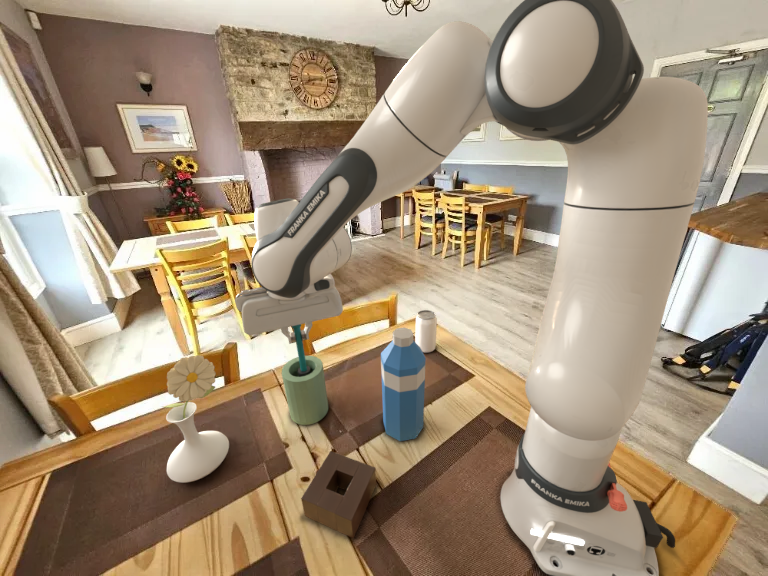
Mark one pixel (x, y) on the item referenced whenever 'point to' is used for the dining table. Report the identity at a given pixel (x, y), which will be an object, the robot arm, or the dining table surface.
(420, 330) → the can
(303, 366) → the bottle brush
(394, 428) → the water bottle
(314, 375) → the jar
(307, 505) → the brush holder
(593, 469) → the robot arm
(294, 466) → the dining table surface
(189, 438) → the flower in vase
